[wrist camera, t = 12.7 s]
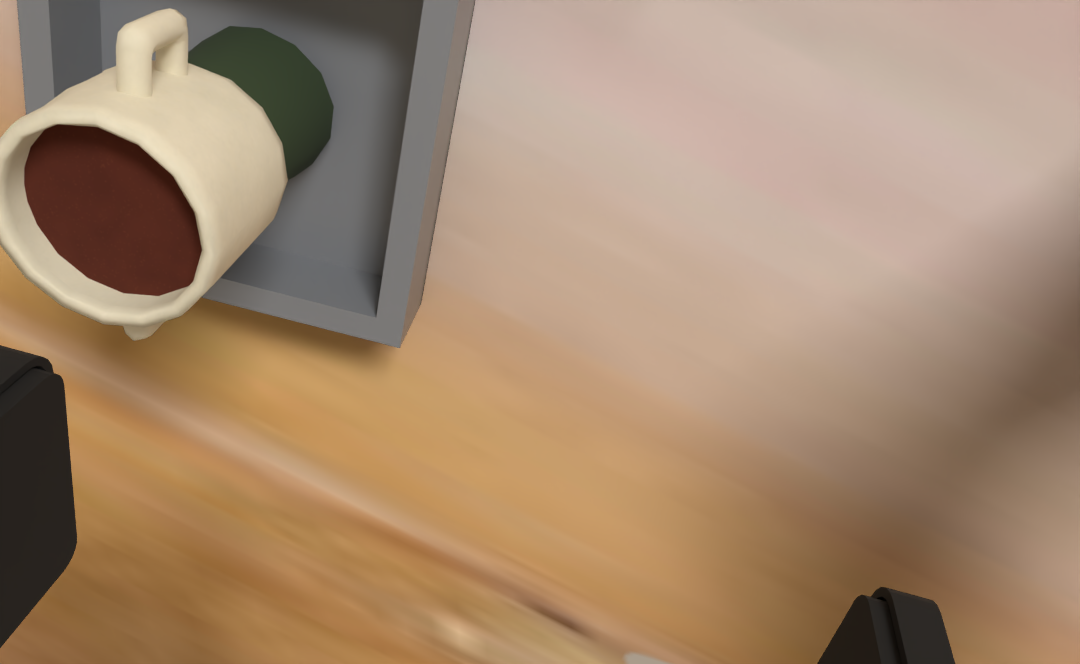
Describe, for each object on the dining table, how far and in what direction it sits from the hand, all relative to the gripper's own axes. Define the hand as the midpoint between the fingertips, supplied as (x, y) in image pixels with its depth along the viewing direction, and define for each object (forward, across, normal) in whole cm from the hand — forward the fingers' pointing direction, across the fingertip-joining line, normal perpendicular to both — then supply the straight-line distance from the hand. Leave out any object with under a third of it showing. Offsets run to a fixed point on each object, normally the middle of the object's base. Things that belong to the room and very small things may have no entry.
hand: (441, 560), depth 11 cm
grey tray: (+28, +14, +6) cm, 32 cm away
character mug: (+28, +14, +6) cm, 32 cm away
